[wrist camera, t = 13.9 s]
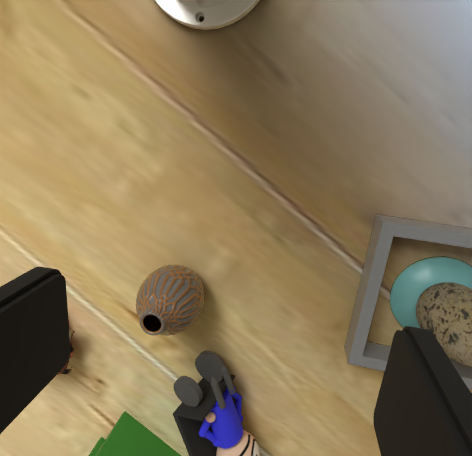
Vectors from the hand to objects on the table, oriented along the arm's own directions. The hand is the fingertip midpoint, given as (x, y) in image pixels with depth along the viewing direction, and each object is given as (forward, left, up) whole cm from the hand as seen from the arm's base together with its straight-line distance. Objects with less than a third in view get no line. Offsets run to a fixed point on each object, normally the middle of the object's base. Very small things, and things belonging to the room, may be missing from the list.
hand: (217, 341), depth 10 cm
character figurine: (+27, -3, -28) cm, 39 cm away
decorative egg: (+9, +18, -27) cm, 34 cm away
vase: (+13, -9, -28) cm, 32 cm away
